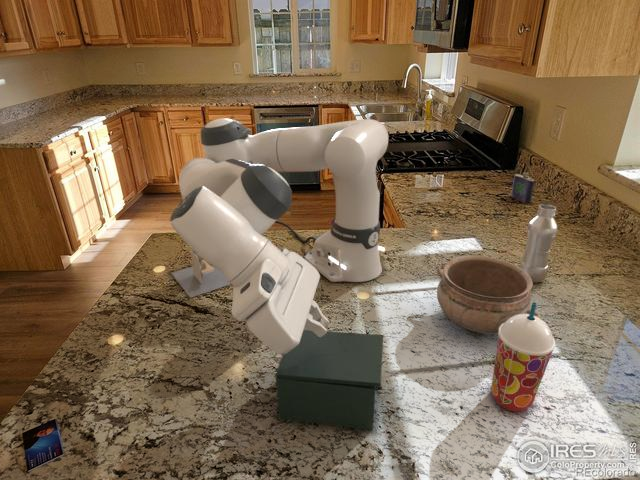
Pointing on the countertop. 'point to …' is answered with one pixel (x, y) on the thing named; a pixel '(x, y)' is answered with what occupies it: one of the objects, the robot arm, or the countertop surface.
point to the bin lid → (335, 359)
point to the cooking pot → (483, 292)
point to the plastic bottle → (539, 243)
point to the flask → (522, 188)
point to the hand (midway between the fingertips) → (325, 329)
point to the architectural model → (200, 277)
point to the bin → (326, 403)
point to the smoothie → (521, 360)
